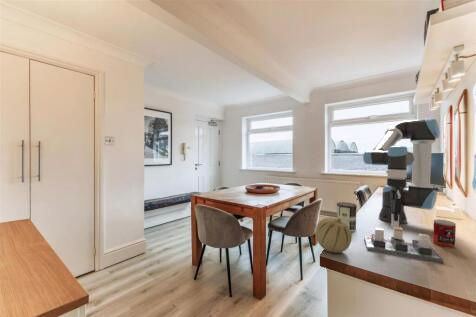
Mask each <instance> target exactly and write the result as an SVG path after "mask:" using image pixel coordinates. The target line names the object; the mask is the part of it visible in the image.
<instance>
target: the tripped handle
mask: <svg viewBox="0 0 476 317" xmlns="http://www.w3.org/2000/svg"><path fill="white" fill-rule="evenodd" d="M392 228H393V229H392V230H393V232H392V233H393V234H392V237H394V238H395V239H402V238H403V231H404V229H403V228H402V227H400V226H399V227H392Z"/></svg>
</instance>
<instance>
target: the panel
mask: <svg viewBox="0 0 476 317" xmlns="http://www.w3.org/2000/svg"><path fill="white" fill-rule="evenodd" d="M384 237H385V229H384V228H380V227H375V228H374V233H371V236H369V235H368V236H367V235H364V238H363V240H364V242H365V247H366V250H367V251H371V252H376V253H382V254H386V255H387V254H388V255H395V256H398V257H399V256H400V257H405V258H410V259H417V260H422V261H423V260H424V261H426V262H427V261H429V262H432V263H433V262H434V263H439V264H444V259H443V257H442V256H441V255H440V254H439V253H438V252H437V251H436V250H435V249H434V248H433V247H432V246H431V245H430V242H431V240H430V239H431V237H430V235H429V234H427V233H418V239H412V240H411V242H408V241H407V242H406V241H405V239H404V238H403V237H402V239H395V238H394V237H393V236H391V237H390V239H388V238H384Z"/></svg>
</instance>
